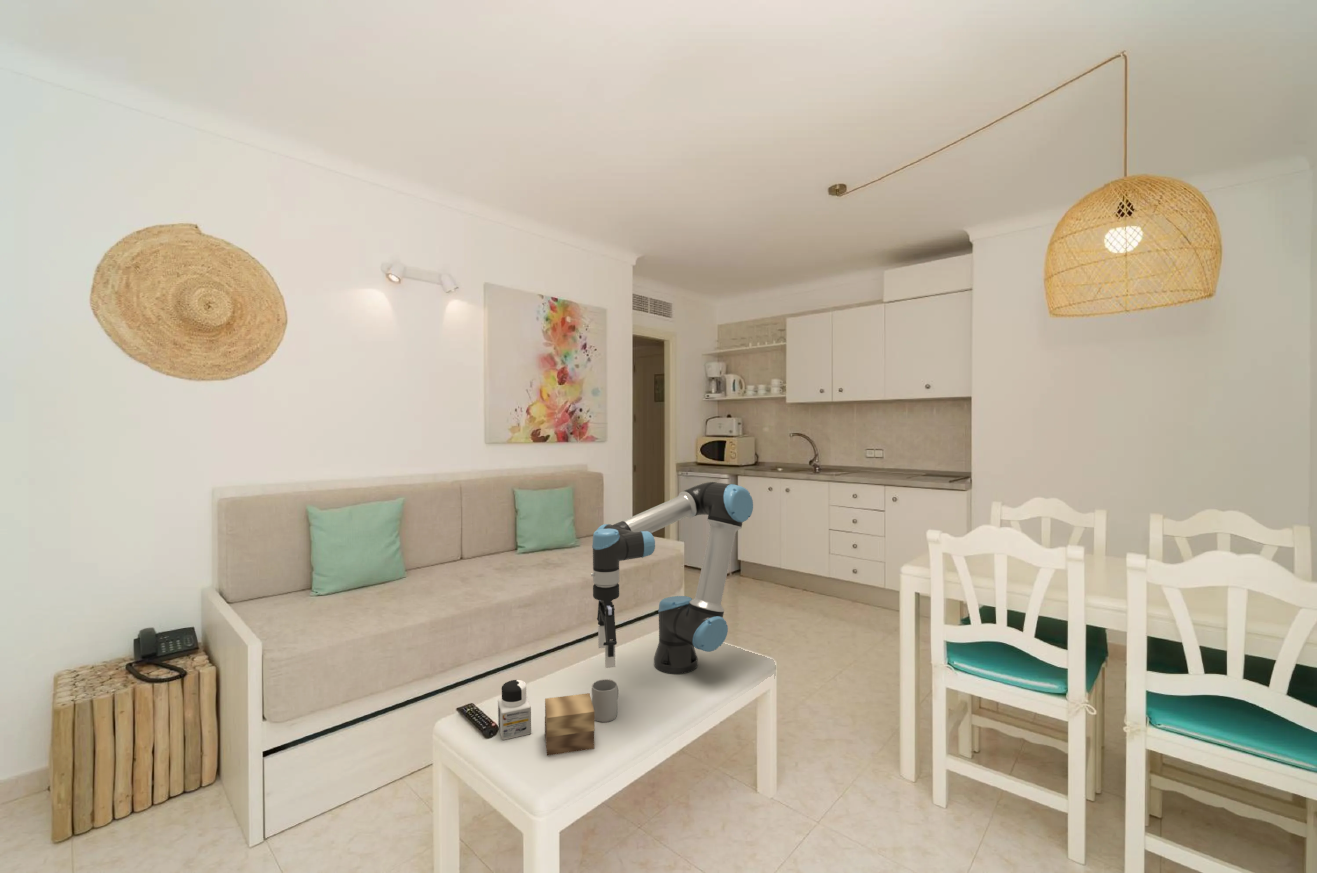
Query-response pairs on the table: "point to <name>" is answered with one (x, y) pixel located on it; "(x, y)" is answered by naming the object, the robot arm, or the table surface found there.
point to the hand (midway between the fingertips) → (606, 656)
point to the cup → (605, 700)
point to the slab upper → (569, 715)
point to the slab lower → (569, 742)
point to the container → (514, 710)
